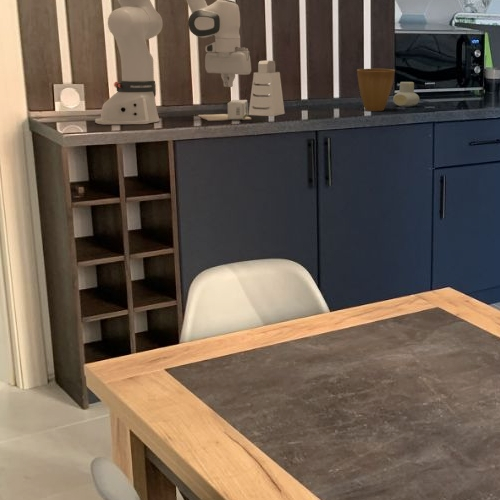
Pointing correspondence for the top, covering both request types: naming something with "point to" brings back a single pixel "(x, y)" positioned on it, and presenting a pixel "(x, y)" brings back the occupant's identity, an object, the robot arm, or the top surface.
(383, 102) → the plant pot
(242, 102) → the syrup box
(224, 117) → the mat
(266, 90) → the grater
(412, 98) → the pipe tee fitting
